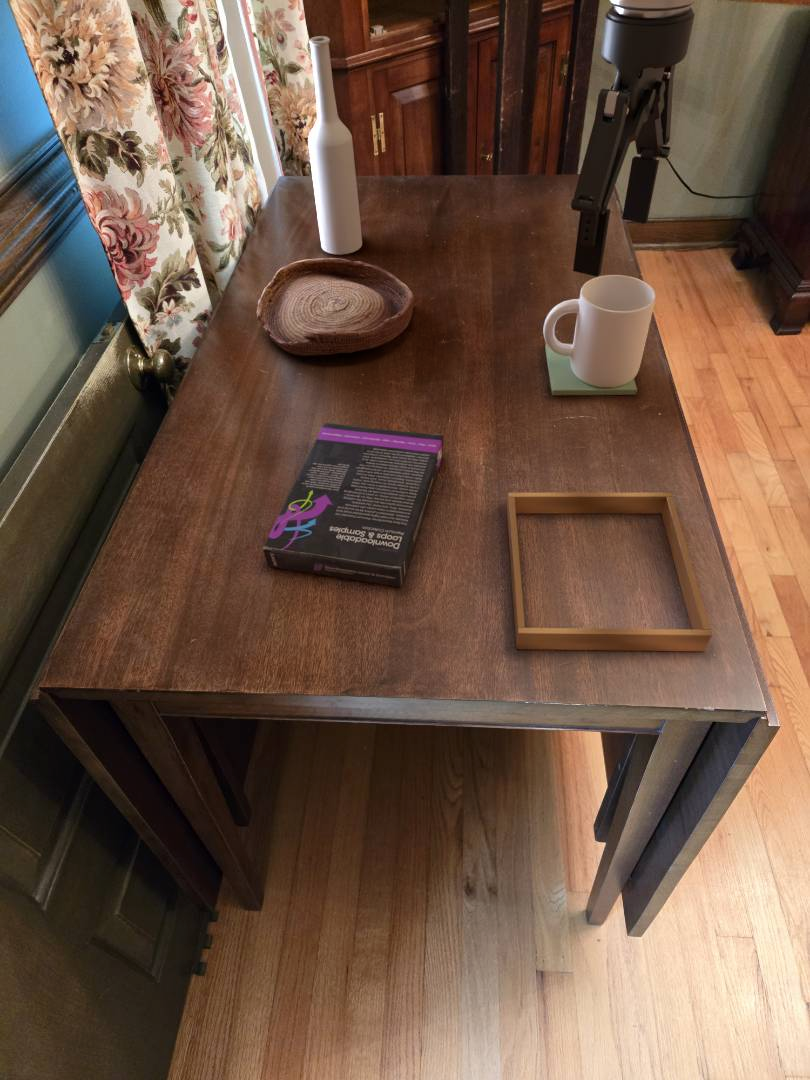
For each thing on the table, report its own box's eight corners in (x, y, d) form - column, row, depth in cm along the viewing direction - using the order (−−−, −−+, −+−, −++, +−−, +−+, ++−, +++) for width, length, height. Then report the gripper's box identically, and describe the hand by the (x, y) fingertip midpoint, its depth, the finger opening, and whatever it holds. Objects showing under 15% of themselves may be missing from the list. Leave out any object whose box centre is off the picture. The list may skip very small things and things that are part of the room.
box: (327, 444, 84) (265, 568, 71) (323, 420, 82) (258, 544, 69) (445, 458, 81) (402, 590, 69) (444, 434, 79) (399, 566, 66)
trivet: (636, 394, 87) (637, 389, 87) (552, 395, 88) (552, 390, 87) (623, 347, 94) (624, 342, 93) (545, 348, 94) (545, 343, 94)
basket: (230, 324, 102) (222, 291, 98) (336, 269, 111) (332, 237, 107) (339, 387, 91) (334, 353, 87) (445, 320, 100) (445, 287, 96)
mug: (536, 383, 88) (544, 306, 81) (542, 345, 94) (551, 270, 86) (637, 393, 86) (656, 315, 78) (638, 353, 91) (656, 277, 84)
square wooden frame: (665, 509, 74) (671, 492, 72) (704, 651, 63) (712, 635, 61) (506, 509, 75) (508, 492, 73) (516, 649, 64) (518, 633, 62)
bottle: (352, 231, 119) (331, 29, 99) (369, 247, 115) (352, 40, 94) (315, 241, 117) (286, 37, 97) (331, 258, 113) (305, 49, 93)
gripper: (658, -27, 71) (621, 195, 87) (549, 39, 57) (529, 288, 73) (736, -22, 68) (683, 207, 84) (641, 48, 54) (599, 306, 70)
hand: (611, 245), depth 78 cm, fingers open, 13 cm apart
